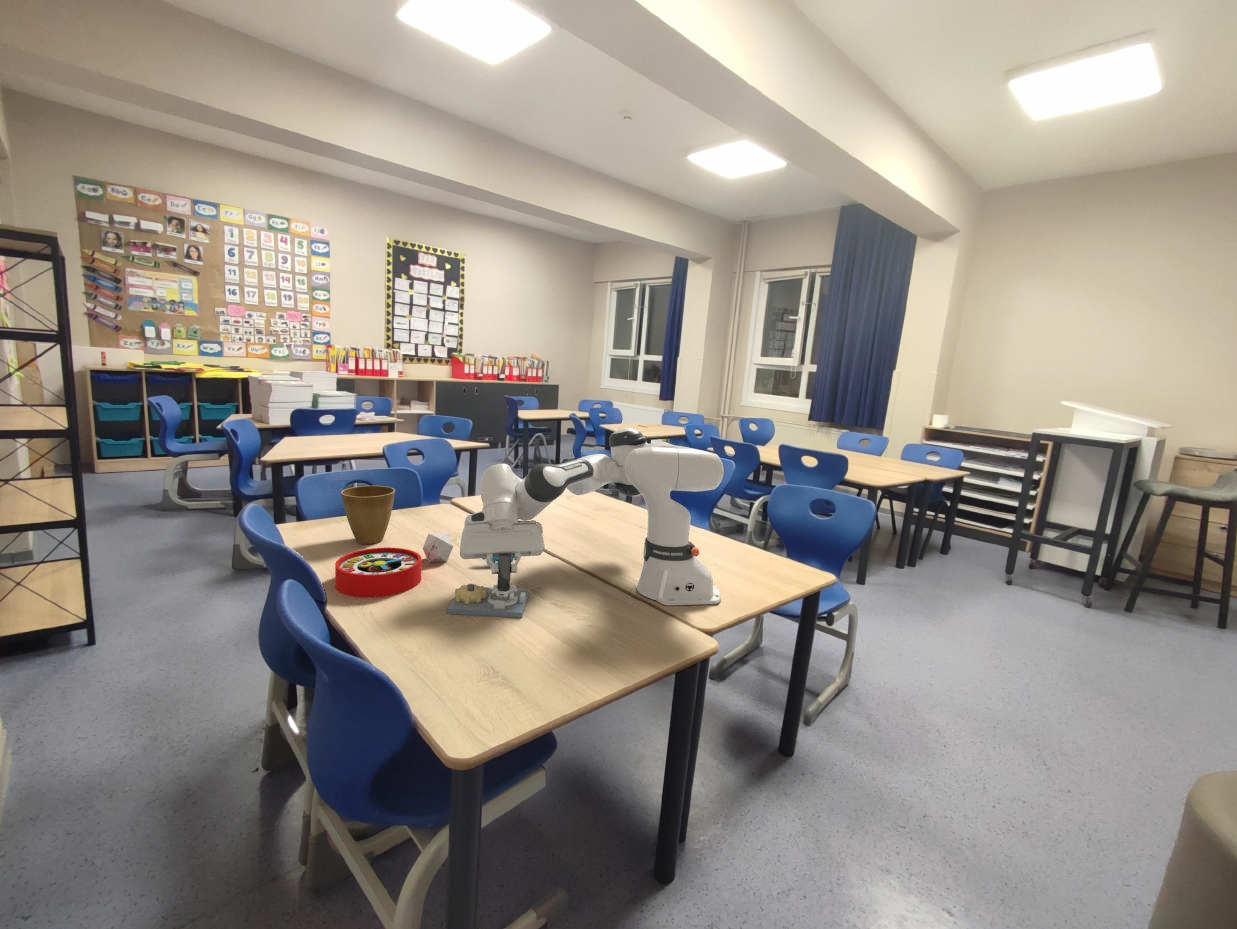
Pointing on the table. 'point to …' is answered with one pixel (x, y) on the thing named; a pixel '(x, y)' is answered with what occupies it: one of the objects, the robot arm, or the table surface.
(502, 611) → the gear board
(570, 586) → the table surface
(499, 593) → the gear
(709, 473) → the robot arm
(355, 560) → the toy clock
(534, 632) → the table surface
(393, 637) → the table surface
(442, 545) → the die
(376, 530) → the plant pot
